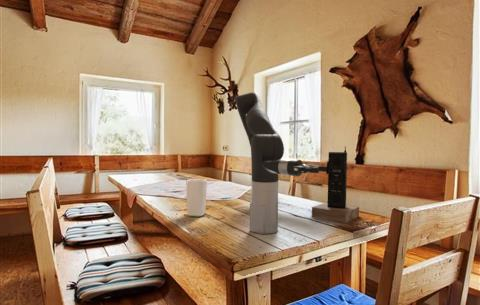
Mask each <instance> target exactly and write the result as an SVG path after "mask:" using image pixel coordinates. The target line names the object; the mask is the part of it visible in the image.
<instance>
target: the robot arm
mask: <svg viewBox="0 0 480 305" xmlns="http://www.w3.org/2000/svg"><path fill="white" fill-rule="evenodd" d="M235 104H236V108H237V112H238V115H239V117H240V118H239V119H240V120H241V123H242V126H243V128H244V130H245V133H246V136H247V139H248V142H249V146H250V155H251V156H250V158H251V160H250V161H251V202H250V203H249V232H253V233H256V234H260V235H267V234H269V235H270V234H274V233H277V232H278V231H279V175H283V176H290V177H291V176H292V177H300V176H301V175H302V174H310V173H311V174H312V173H313V174H319V173H320V172H324V173H326V171H327V165H326V166H325V165H321V164H319V165H318V164H309V163H303V161H302V160H301V159H295V158H294V159H293V158H283V156H284V153H285V147H284V146H285V144H284V143H283V142H284V141H283V139H282V137H281V136H280V134H279V133H278V131H276V129H275V128H274V127H273V125H272V123H271V120H270V118H269V116H268V114H267V113H266V111H265V109H264V108H263V105H262V102H261V99H260V97H259V95H258V93H257V92H255V91H253V92H248V93H244V94H241V95H237V96H236V97H235ZM282 158H283V159H282Z"/></svg>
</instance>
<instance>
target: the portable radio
mask: <svg viewBox="0 0 480 305" xmlns="http://www.w3.org/2000/svg"><path fill="white" fill-rule="evenodd" d="M346 147H347V145H346V146H344V151H342V152H341V151H329V152H328V157H327V158H328V160H327V161H326V167H327V171H326V172H325V175H327V202H328V203H327V205H328V207H332V208H342V209H345V207H346V205H347V180H348V176H347V174H348V173H347V172H348V168H347V167H348V152H347V149H346Z"/></svg>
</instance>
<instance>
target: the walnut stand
mask: <svg viewBox="0 0 480 305" xmlns="http://www.w3.org/2000/svg"><path fill="white" fill-rule="evenodd" d="M327 203H328V201H327V202H324V203H321V204H318V205H314V206H311V217H312V218H316V219H321V220H326V221H332V222H336V223H341V224H347V223H348V222H350V221H353V220H355V219H357V218H358V217H360V206H355V205H349V204H346V207H345V209H342V208H332V207H328V205H327Z"/></svg>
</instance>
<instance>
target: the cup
mask: <svg viewBox="0 0 480 305" xmlns="http://www.w3.org/2000/svg"><path fill="white" fill-rule="evenodd" d="M185 182H186V186H185V187H186V188H185V189H186V190H185V191H186V206H187V207H186V208H187V214H188V216H189V217H193V218H194V217H197V218H199V217H203V216H204V215H205V214H206V207H207V206H206V205H207V195H208V194H207V191H208V189H207V188H208V180H207V179H206V178H189V179H187V180H186V181H185Z"/></svg>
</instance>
